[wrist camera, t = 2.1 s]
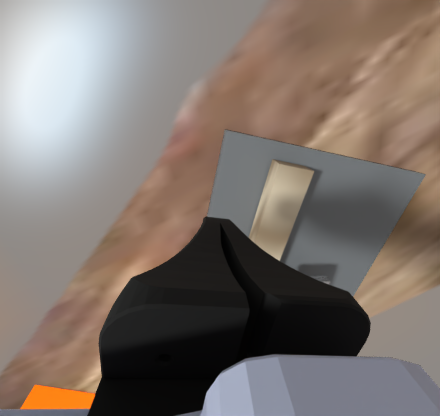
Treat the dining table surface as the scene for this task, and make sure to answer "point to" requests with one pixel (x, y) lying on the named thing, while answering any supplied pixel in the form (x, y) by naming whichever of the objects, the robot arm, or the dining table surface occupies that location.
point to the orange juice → (57, 399)
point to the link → (279, 206)
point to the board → (317, 204)
